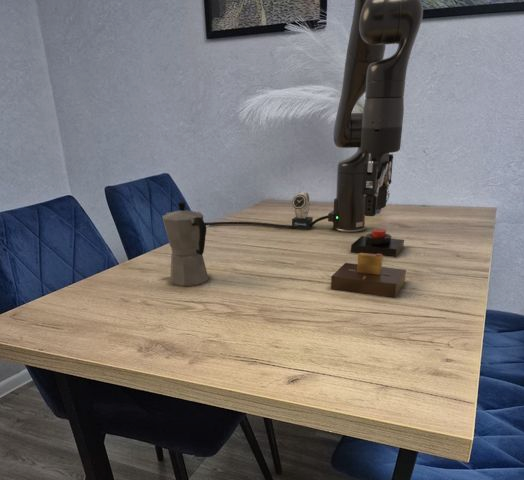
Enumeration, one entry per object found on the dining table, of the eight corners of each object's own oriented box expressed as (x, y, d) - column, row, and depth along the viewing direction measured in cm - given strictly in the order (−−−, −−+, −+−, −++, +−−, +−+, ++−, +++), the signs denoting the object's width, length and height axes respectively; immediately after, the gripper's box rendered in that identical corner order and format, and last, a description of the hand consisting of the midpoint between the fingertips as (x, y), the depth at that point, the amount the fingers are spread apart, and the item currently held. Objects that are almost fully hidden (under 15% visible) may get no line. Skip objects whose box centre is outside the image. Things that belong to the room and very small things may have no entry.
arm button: (370, 237, 126) (370, 231, 126) (373, 234, 129) (374, 228, 128) (383, 239, 125) (384, 232, 124) (386, 235, 128) (387, 229, 127)
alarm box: (350, 252, 127) (351, 238, 125) (360, 243, 135) (361, 229, 133) (395, 257, 123) (397, 242, 121) (403, 247, 130) (405, 233, 129)
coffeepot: (158, 277, 114) (147, 201, 106) (191, 269, 119) (184, 195, 111) (192, 294, 103) (183, 210, 95) (227, 284, 108) (221, 204, 100)
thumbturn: (357, 272, 104) (358, 253, 102) (359, 270, 105) (360, 251, 103) (379, 274, 102) (381, 255, 100) (381, 272, 103) (383, 253, 101)
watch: (289, 230, 152) (289, 194, 147) (298, 224, 158) (298, 190, 153) (306, 231, 150) (306, 195, 145) (314, 225, 156) (315, 191, 151)
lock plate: (330, 288, 104) (331, 275, 102) (344, 275, 112) (345, 262, 110) (394, 297, 98) (396, 283, 97) (404, 282, 106) (406, 268, 104)
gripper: (372, 123, 97) (366, 204, 104) (352, 127, 86) (347, 217, 93) (409, 122, 94) (400, 206, 101) (393, 126, 83) (385, 220, 90)
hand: (375, 211), depth 97 cm, fingers open, 8 cm apart
